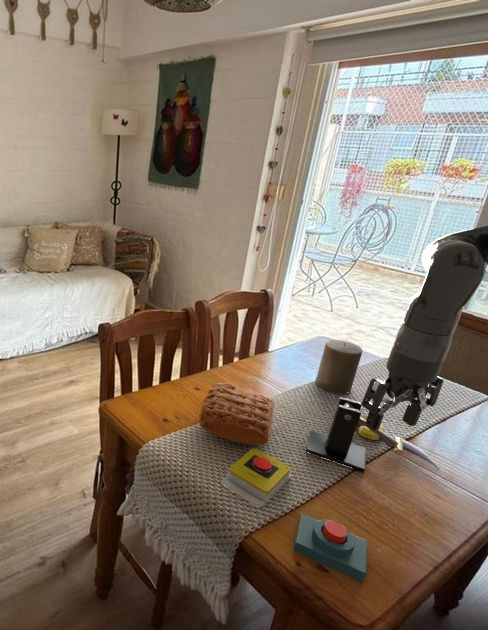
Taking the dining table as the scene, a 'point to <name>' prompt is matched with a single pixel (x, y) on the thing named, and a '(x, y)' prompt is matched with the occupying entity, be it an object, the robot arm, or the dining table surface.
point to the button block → (331, 548)
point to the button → (334, 532)
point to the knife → (406, 445)
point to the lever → (382, 434)
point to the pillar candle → (338, 366)
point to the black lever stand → (340, 438)
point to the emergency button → (257, 477)
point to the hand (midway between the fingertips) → (390, 425)
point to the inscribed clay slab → (237, 414)
